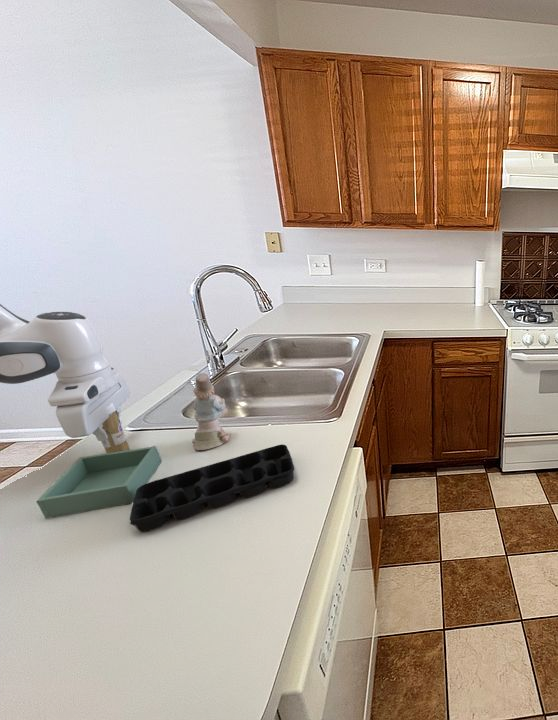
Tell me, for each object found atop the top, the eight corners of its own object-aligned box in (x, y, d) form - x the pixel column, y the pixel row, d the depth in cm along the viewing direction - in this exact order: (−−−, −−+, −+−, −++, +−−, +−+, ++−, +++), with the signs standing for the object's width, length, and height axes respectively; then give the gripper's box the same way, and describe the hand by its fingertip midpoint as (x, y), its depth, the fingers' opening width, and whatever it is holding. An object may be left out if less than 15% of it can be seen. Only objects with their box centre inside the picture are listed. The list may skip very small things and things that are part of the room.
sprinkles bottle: (132, 453, 98) (113, 406, 93) (107, 461, 95) (87, 412, 90) (130, 445, 101) (112, 399, 96) (106, 453, 98) (86, 405, 93)
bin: (45, 518, 78) (35, 501, 77) (87, 473, 91) (79, 457, 90) (133, 502, 82) (126, 485, 81) (161, 461, 95) (156, 445, 94)
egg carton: (128, 505, 82) (121, 491, 80) (278, 445, 101) (275, 433, 100) (140, 556, 70) (133, 540, 69) (307, 477, 90) (304, 464, 88)
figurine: (226, 448, 100) (205, 377, 92) (188, 453, 98) (164, 380, 90) (237, 430, 108) (219, 362, 100) (203, 433, 106) (181, 365, 98)
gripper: (96, 365, 99) (116, 413, 104) (41, 403, 81) (69, 459, 86) (127, 362, 100) (145, 410, 106) (79, 399, 82) (104, 454, 88)
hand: (110, 432), depth 96 cm, fingers closed on sprinkles bottle, 4 cm apart
